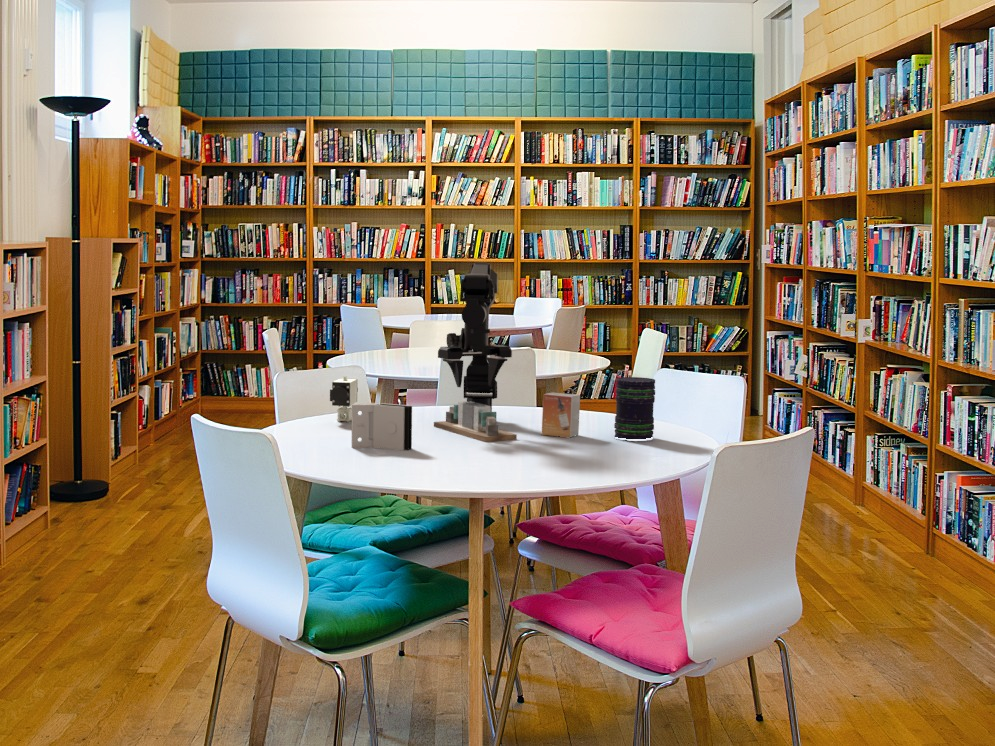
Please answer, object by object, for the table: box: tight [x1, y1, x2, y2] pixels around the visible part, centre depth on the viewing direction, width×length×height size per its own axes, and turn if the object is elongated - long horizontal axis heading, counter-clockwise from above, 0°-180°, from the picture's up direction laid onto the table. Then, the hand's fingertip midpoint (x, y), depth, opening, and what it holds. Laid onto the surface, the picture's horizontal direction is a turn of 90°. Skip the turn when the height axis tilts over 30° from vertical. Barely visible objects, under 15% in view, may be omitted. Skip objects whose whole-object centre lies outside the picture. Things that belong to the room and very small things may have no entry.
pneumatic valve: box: [329, 375, 359, 423], centre depth 286 cm, size 6×12×12 cm, turn 174°
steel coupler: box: [457, 401, 491, 431], centre depth 271 cm, size 10×4×6 cm, turn 32°
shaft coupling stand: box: [433, 404, 518, 443], centre depth 271 cm, size 9×26×6 cm, turn 32°
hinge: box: [351, 402, 413, 451], centre depth 248 cm, size 14×5×10 cm, turn 80°
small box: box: [541, 391, 581, 438], centre depth 270 cm, size 8×6×10 cm
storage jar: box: [613, 376, 656, 439], centre depth 267 cm, size 10×10×15 cm
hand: (474, 386), depth 270 cm, fingers open, 9 cm apart
